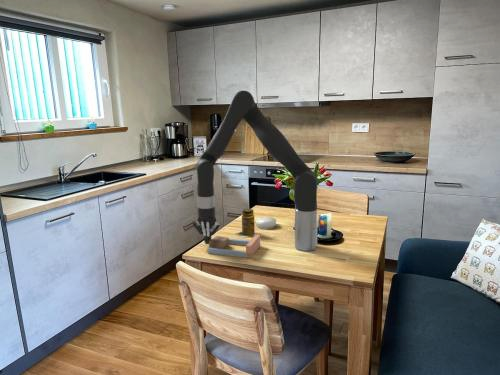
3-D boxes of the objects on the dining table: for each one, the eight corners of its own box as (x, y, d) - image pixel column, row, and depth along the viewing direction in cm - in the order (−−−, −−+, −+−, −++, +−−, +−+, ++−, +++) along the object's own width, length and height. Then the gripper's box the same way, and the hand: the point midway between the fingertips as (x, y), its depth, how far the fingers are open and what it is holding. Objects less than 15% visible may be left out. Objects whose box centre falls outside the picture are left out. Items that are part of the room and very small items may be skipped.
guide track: (260, 245, 164) (260, 234, 163) (250, 257, 151) (250, 246, 150) (220, 241, 170) (219, 231, 169) (207, 253, 157) (207, 242, 156)
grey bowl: (278, 224, 194) (278, 217, 193) (273, 230, 185) (273, 223, 184) (259, 222, 197) (259, 216, 196) (254, 228, 188) (254, 222, 187)
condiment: (258, 234, 179) (257, 210, 176) (243, 238, 174) (242, 213, 172) (249, 230, 185) (249, 207, 182) (235, 233, 180) (234, 210, 178)
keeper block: (228, 246, 165) (228, 237, 164) (221, 251, 159) (221, 242, 158) (216, 244, 167) (216, 235, 167) (209, 250, 161) (208, 241, 160)
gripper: (223, 204, 162) (225, 242, 166) (196, 202, 166) (197, 239, 170) (217, 208, 155) (218, 248, 159) (188, 206, 159) (190, 245, 163)
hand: (207, 243), depth 164 cm, fingers closed
